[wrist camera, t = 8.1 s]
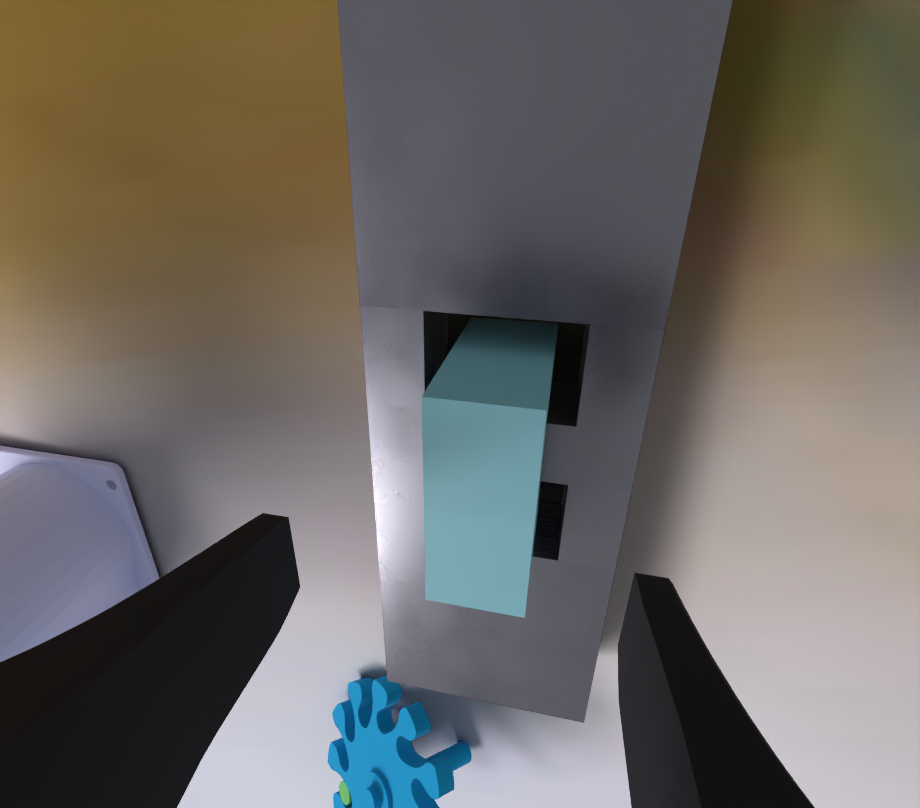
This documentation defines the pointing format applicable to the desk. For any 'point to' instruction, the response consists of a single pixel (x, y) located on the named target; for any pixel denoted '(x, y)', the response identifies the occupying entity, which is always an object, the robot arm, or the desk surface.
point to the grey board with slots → (520, 283)
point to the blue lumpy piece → (387, 752)
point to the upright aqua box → (486, 463)
